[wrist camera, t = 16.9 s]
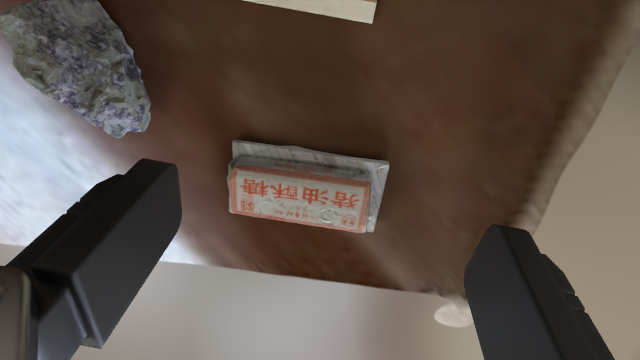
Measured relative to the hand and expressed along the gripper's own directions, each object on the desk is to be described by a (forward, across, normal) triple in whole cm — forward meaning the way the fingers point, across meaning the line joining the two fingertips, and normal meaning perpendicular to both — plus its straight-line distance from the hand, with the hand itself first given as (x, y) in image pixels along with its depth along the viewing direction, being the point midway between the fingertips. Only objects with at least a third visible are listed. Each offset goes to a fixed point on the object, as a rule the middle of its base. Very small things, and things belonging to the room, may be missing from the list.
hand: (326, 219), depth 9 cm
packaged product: (+28, +2, +19) cm, 34 cm away
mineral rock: (+28, +25, +8) cm, 39 cm away
